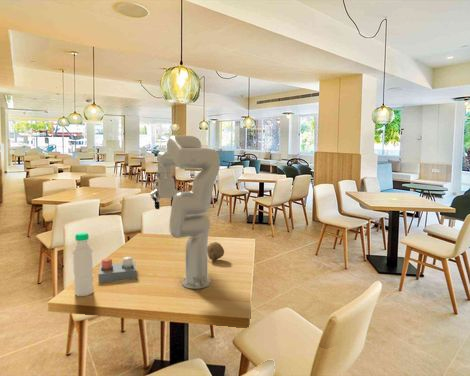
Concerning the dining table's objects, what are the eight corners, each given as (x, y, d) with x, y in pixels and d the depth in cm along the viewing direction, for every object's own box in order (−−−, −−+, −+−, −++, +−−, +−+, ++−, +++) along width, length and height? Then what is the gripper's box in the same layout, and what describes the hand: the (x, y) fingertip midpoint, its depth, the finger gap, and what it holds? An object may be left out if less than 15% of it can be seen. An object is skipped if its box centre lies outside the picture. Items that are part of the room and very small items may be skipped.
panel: (136, 278, 152) (136, 270, 152) (98, 282, 147) (98, 274, 146) (135, 269, 163) (134, 261, 163) (99, 272, 158) (99, 264, 157)
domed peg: (132, 268, 155) (132, 259, 154) (122, 269, 153) (122, 260, 153) (132, 265, 159) (132, 256, 158) (122, 266, 157) (122, 257, 157)
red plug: (112, 270, 152) (111, 261, 151) (101, 271, 150) (101, 262, 150) (112, 267, 156) (112, 258, 155) (102, 268, 154) (101, 259, 154)
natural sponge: (224, 258, 182) (224, 240, 181) (223, 263, 173) (223, 245, 172) (207, 257, 182) (208, 239, 181) (206, 263, 173) (206, 244, 172)
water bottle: (88, 287, 142) (86, 230, 138) (96, 292, 137) (94, 233, 134) (71, 293, 136) (68, 233, 133) (79, 298, 132) (77, 237, 129)
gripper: (154, 177, 166) (154, 211, 168) (182, 175, 178) (182, 207, 180) (146, 176, 171) (147, 208, 174) (174, 174, 183) (175, 205, 185)
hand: (165, 207), depth 177 cm, fingers open, 9 cm apart
